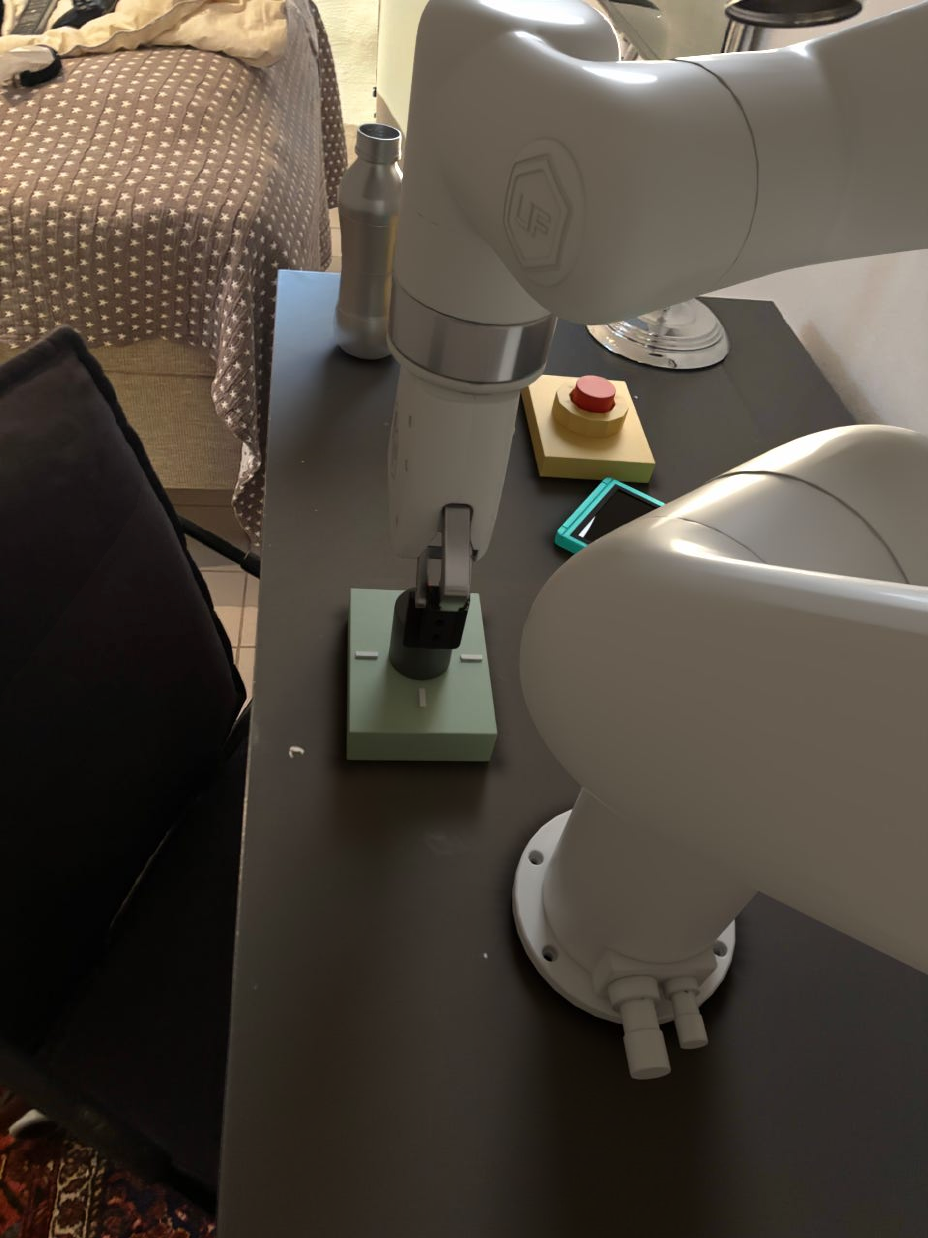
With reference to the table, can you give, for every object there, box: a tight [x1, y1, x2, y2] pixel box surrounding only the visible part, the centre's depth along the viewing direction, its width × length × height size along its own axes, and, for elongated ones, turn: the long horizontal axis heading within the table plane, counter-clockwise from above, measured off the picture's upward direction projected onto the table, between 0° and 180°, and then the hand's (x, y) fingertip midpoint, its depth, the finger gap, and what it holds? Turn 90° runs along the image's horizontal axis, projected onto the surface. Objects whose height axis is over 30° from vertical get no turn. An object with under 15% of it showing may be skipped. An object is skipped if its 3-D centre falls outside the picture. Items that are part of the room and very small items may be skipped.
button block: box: [520, 374, 656, 484], centre depth 80 cm, size 13×10×4 cm
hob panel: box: [346, 588, 498, 762], centre depth 58 cm, size 12×9×3 cm
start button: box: [572, 375, 616, 413], centre depth 78 cm, size 4×4×2 cm
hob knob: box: [389, 582, 453, 680], centre depth 55 cm, size 4×4×5 cm
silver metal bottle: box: [332, 122, 403, 360], centre depth 79 cm, size 6×7×20 cm
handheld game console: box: [554, 477, 666, 555], centre depth 71 cm, size 10×16×1 cm, turn 58°
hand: (426, 581), depth 52 cm, fingers open, 9 cm apart
